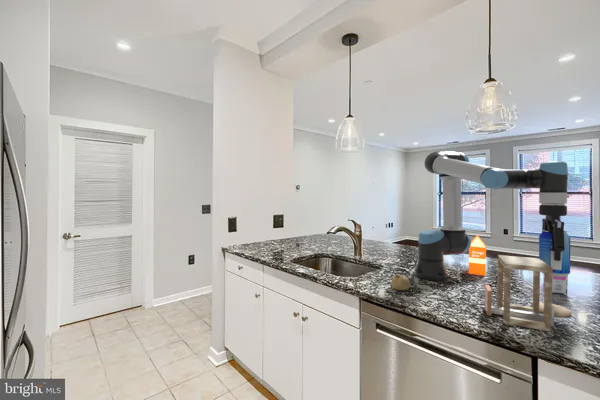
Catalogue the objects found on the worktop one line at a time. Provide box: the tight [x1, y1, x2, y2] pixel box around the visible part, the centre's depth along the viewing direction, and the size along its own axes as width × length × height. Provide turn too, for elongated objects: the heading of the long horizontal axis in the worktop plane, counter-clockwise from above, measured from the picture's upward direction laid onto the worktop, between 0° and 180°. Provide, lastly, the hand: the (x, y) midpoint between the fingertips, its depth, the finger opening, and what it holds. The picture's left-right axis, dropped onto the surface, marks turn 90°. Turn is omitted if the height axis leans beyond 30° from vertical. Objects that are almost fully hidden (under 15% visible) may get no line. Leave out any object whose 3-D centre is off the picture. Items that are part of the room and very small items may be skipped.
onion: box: [391, 273, 411, 292], centre depth 124 cm, size 8×8×7 cm
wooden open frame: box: [496, 254, 553, 332], centre depth 95 cm, size 12×14×20 cm
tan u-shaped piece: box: [484, 284, 555, 327], centre depth 96 cm, size 18×7×9 cm, turn 62°
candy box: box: [543, 274, 569, 296], centre depth 123 cm, size 14×6×16 cm, turn 148°
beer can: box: [538, 229, 571, 277], centre depth 101 cm, size 8×8×16 cm
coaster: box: [530, 301, 572, 318], centre depth 102 cm, size 11×11×1 cm
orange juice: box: [468, 234, 487, 276], centre depth 150 cm, size 8×9×20 cm
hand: (551, 266), depth 102 cm, fingers closed on beer can, 8 cm apart
